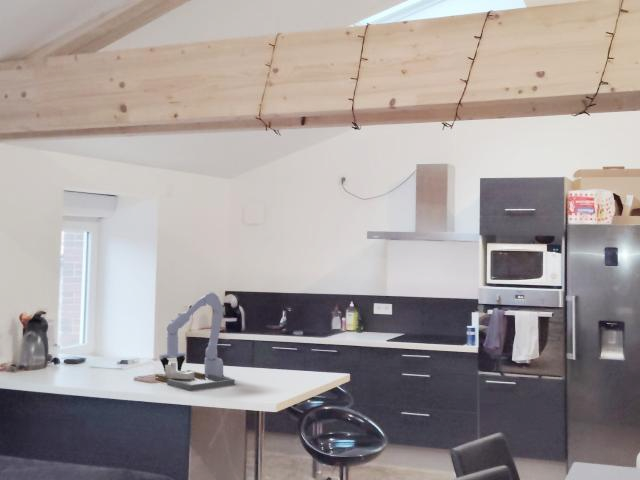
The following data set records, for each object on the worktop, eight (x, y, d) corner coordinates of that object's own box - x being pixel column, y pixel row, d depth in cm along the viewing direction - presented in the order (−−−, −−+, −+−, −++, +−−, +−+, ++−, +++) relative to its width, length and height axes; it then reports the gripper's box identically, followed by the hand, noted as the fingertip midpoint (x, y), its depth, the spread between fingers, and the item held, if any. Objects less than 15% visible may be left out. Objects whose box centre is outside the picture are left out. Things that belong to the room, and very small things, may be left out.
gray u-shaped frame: (210, 378, 396) (210, 373, 396) (234, 384, 378) (234, 379, 378) (167, 384, 379) (167, 379, 379) (190, 390, 362) (190, 385, 362)
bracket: (165, 379, 393) (165, 364, 393) (171, 377, 400) (171, 362, 400) (187, 380, 389) (187, 366, 389) (194, 378, 396) (194, 364, 396)
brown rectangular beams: (189, 374, 407) (189, 370, 407) (205, 378, 395) (205, 374, 395) (155, 379, 394) (155, 374, 394) (170, 383, 382) (170, 378, 382)
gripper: (181, 343, 408) (181, 369, 408) (156, 346, 399) (156, 372, 399) (187, 345, 403) (187, 370, 403) (163, 347, 393) (163, 373, 393)
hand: (172, 371), depth 400 cm, fingers open, 7 cm apart
